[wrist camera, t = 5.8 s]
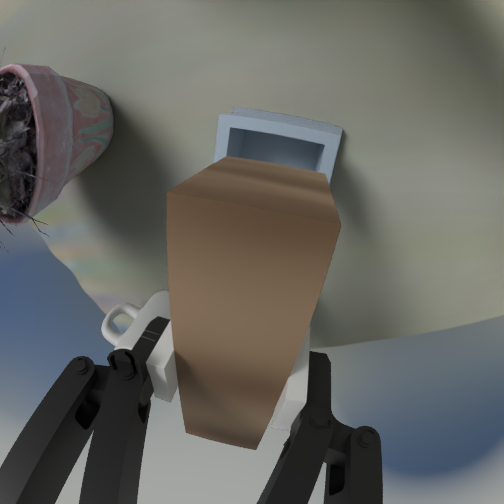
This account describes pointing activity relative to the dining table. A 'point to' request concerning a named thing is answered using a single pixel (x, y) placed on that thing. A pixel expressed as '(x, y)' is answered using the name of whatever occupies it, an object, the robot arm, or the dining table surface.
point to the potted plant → (46, 136)
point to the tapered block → (244, 288)
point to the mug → (136, 319)
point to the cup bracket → (278, 140)
